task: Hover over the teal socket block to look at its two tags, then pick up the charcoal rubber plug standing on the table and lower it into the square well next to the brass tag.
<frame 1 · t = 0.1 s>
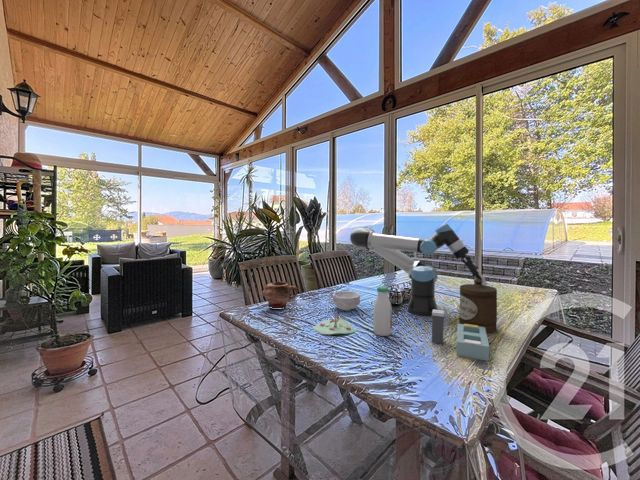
hand: (484, 282, 150), 15 cm above the table, tool tilted 35°, fingers open, 13 cm apart
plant: (335, 326, 133), on the table
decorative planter: (280, 307, 161), on the table
milk bottle: (382, 333, 123), on the table
socket block: (471, 346, 109), on the table
paper bowls: (346, 308, 160), on the table
wooden container: (477, 327, 129), on the table
plug: (437, 341, 115), on the table
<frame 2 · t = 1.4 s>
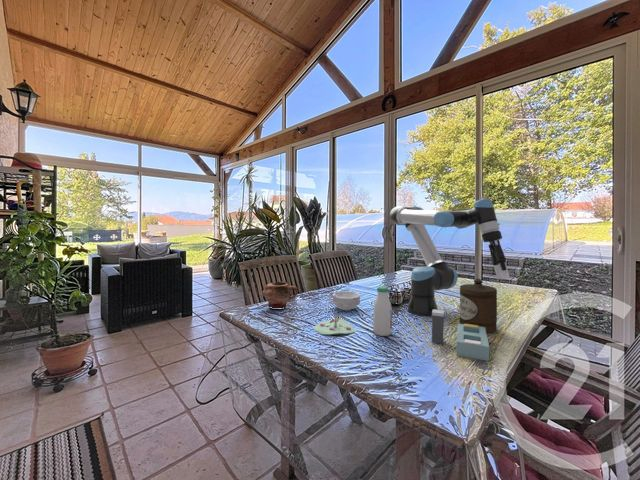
hand: (503, 278, 126), 22 cm above the table, tool tilted 20°, fingers open, 13 cm apart
nothing on the table moved.
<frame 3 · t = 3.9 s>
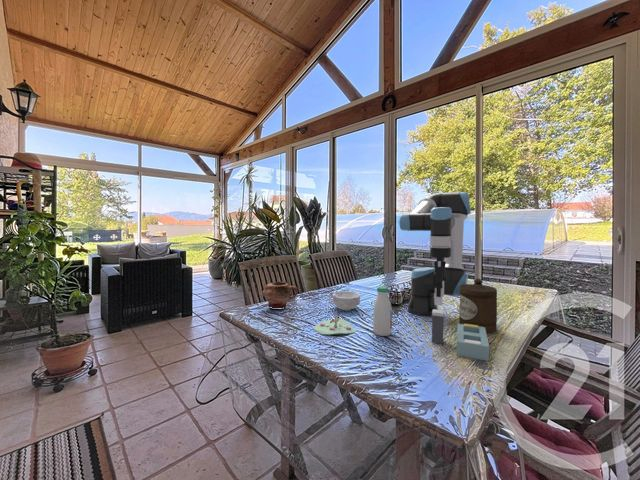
hand: (439, 300, 113), 17 cm above the table, tool pointing down, fingers open, 13 cm apart
nothing on the table moved.
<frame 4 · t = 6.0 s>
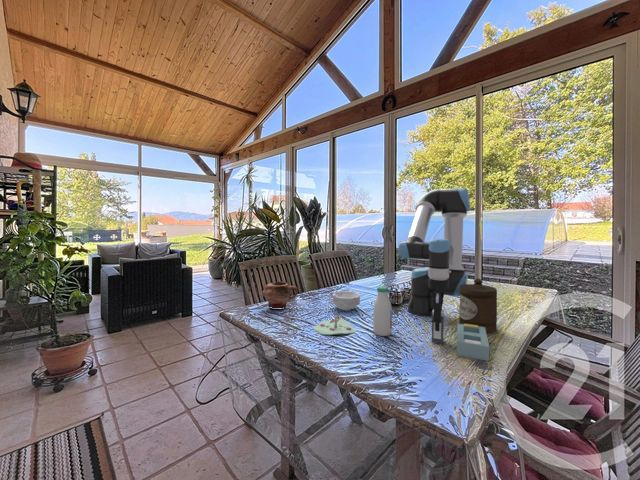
hand: (437, 335, 114), 2 cm above the table, tool pointing down, fingers closed on plug, 4 cm apart
plug: (437, 341, 115), on the table, touching gripper
everything else where it was.
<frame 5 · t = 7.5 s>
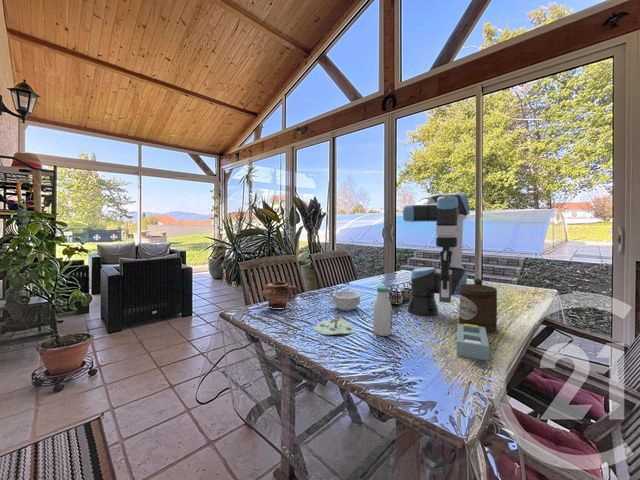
hand: (445, 295, 113), 19 cm above the table, tool pointing down, fingers closed on plug, 4 cm apart
plug: (445, 301, 113), point 16 cm above the table, touching gripper
everything else where it was.
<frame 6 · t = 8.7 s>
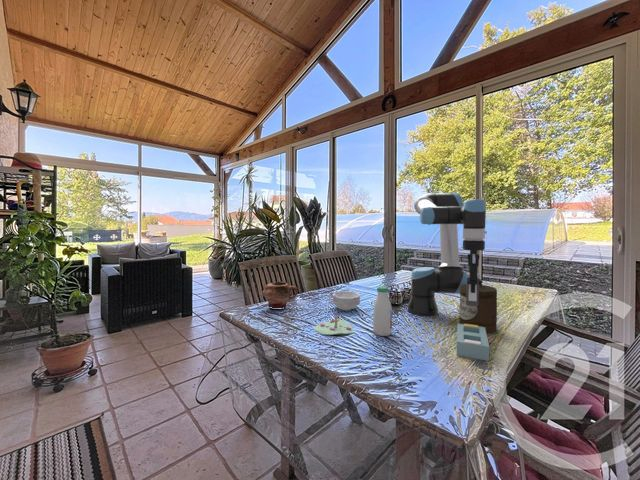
hand: (472, 299, 112), 17 cm above the table, tool pointing down, fingers closed on plug, 4 cm apart
plug: (472, 304, 112), point 15 cm above the table, touching gripper
everything else where it was.
when the fingers open (6 cm above the table, at t = 11.3 s): plug drops 2 cm, resting on socket block.
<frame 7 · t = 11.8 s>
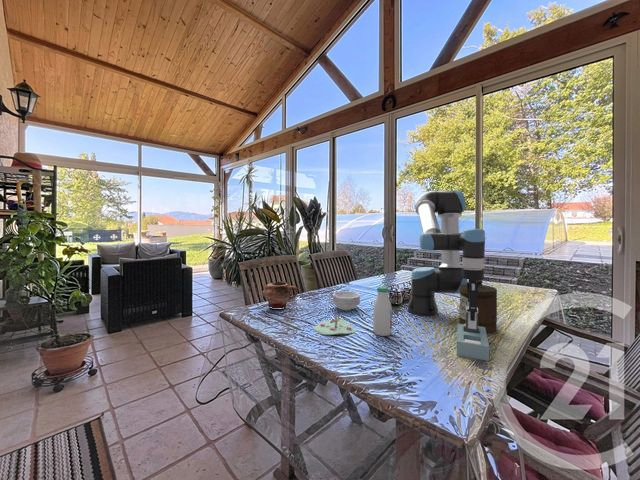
hand: (471, 323, 113), 8 cm above the table, tool pointing down, fingers open, 11 cm apart
plug: (471, 338, 113), point 2 cm above the table, touching socket block
everything else where it was.
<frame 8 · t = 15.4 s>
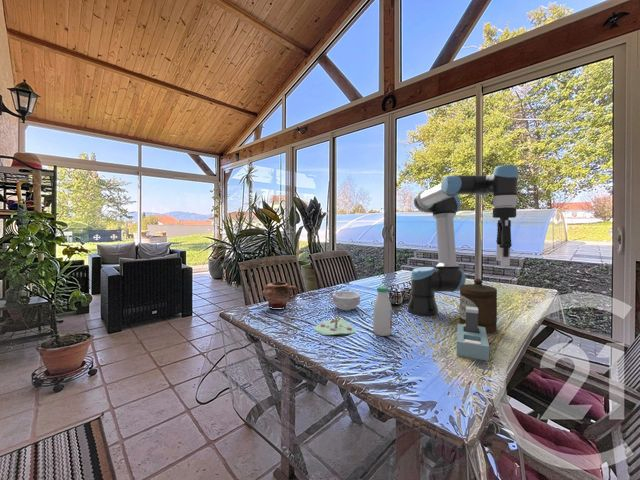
hand: (502, 263, 109), 32 cm above the table, tool pointing down, fingers open, 13 cm apart
nothing on the table moved.
at the end: plug 0.0 cm from the target spot on the socket block, point 1.5 cm above the socket block's base; plug tilted 0°; the gripper is holding nothing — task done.
